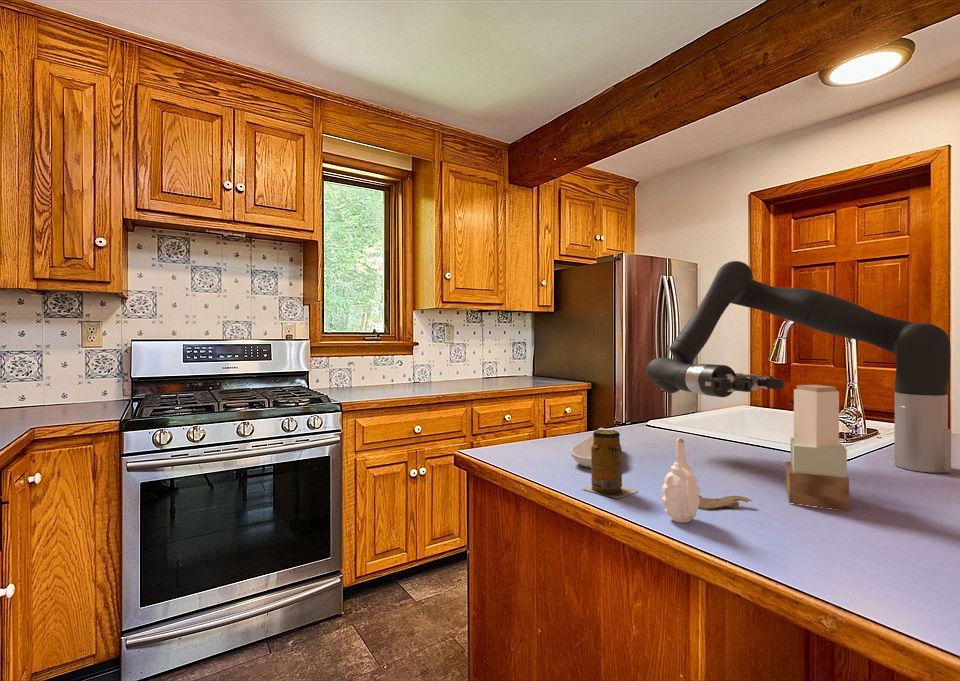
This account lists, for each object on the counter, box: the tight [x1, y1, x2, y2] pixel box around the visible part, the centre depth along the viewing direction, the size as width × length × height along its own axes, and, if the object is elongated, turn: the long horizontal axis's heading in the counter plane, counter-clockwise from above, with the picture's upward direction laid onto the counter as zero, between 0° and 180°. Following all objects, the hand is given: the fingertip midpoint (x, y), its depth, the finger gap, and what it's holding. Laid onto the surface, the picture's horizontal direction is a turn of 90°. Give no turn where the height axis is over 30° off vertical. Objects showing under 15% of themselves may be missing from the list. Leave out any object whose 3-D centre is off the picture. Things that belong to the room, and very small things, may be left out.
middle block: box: [790, 437, 848, 478], centre depth 95 cm, size 8×8×5 cm
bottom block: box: [785, 461, 850, 512], centre depth 96 cm, size 9×9×6 cm
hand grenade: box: [661, 437, 701, 524], centre depth 86 cm, size 8×6×14 cm
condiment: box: [582, 429, 639, 499], centre depth 103 cm, size 7×8×12 cm
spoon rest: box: [569, 427, 616, 469], centre depth 128 cm, size 24×12×7 cm, turn 154°
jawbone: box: [698, 495, 753, 511], centre depth 99 cm, size 9×20×2 cm, turn 25°
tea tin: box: [793, 384, 840, 447], centre depth 95 cm, size 5×5×11 cm
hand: (766, 385), depth 106 cm, fingers open, 8 cm apart
